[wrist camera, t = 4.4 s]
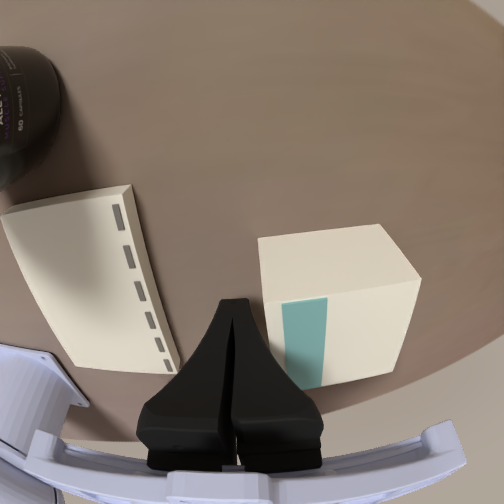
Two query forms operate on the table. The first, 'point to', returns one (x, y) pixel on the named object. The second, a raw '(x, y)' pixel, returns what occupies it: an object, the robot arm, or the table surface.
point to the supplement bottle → (26, 111)
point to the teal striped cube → (336, 303)
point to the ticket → (93, 279)
